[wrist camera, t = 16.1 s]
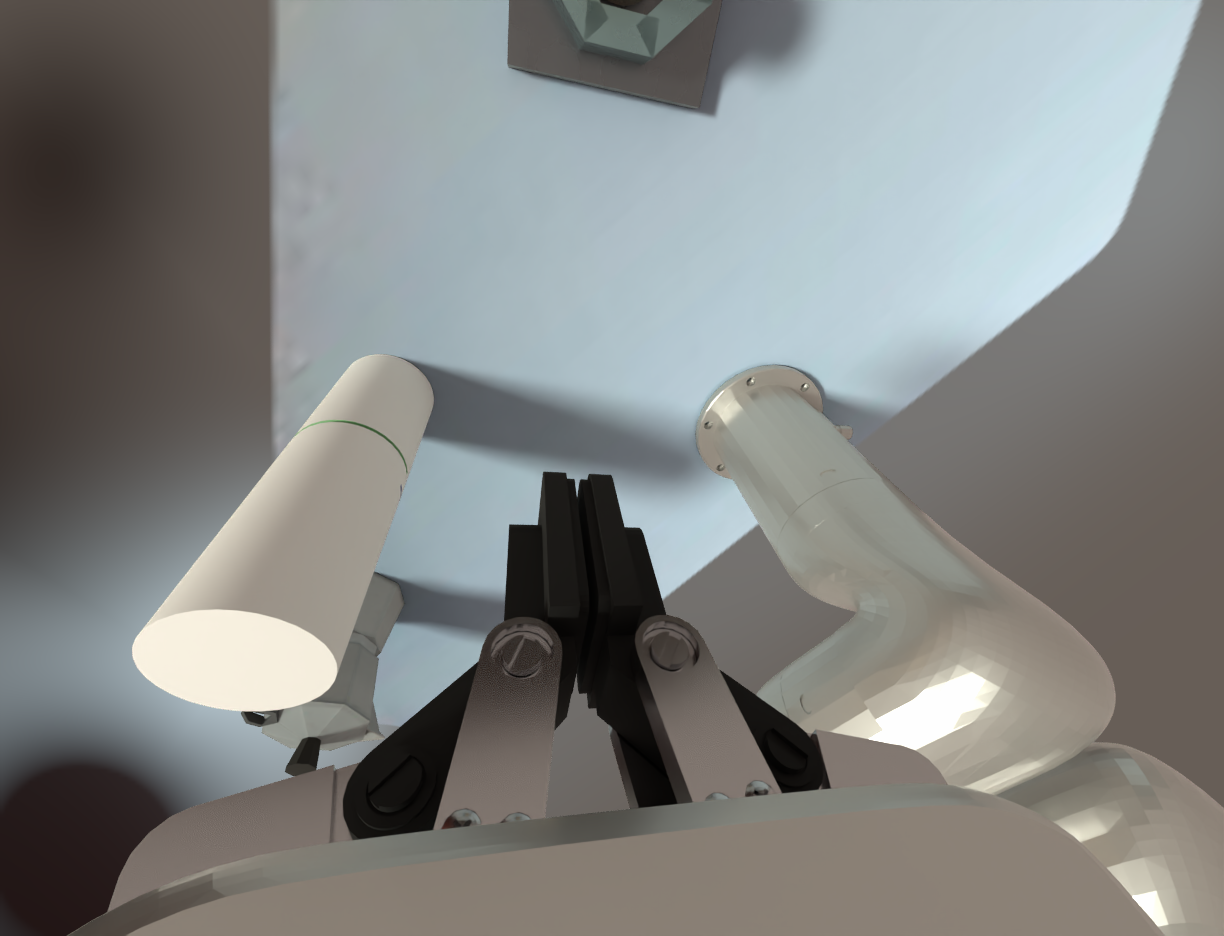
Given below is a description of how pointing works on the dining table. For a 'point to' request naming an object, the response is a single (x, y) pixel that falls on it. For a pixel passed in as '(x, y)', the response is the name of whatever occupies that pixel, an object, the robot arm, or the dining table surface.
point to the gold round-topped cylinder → (624, 2)
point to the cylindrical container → (294, 553)
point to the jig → (618, 44)
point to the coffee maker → (340, 689)
